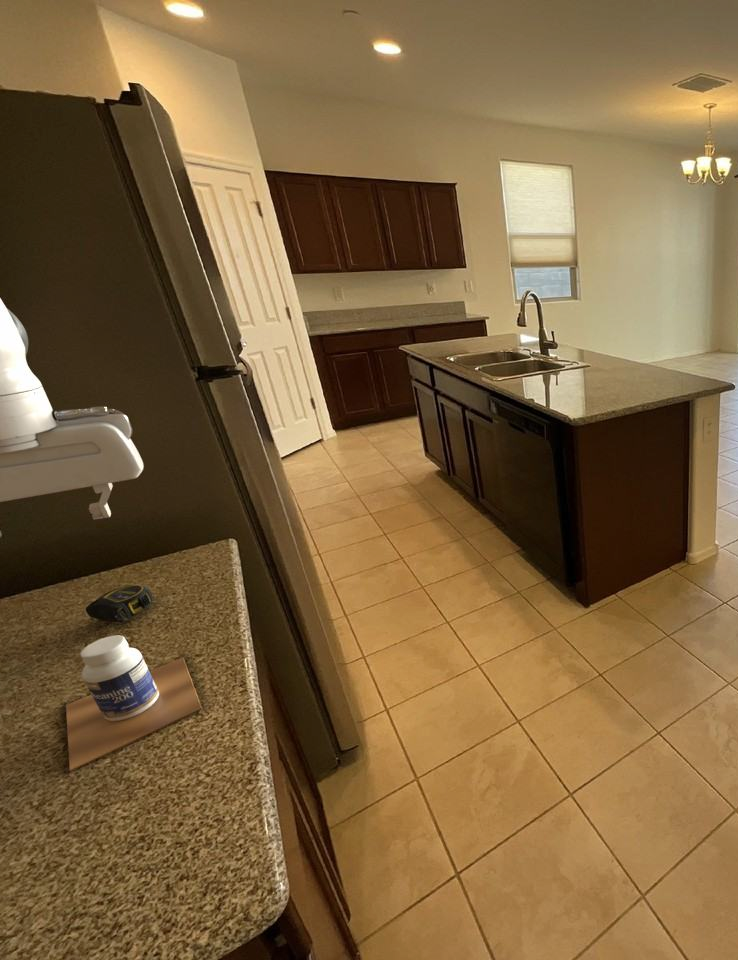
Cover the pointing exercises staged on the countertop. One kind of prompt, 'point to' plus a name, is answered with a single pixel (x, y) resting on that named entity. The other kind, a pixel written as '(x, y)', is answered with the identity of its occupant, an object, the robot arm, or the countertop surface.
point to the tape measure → (121, 603)
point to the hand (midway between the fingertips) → (49, 528)
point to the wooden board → (103, 736)
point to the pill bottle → (118, 678)
